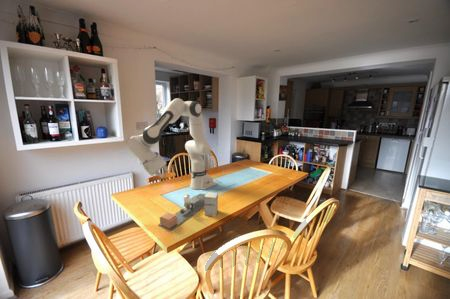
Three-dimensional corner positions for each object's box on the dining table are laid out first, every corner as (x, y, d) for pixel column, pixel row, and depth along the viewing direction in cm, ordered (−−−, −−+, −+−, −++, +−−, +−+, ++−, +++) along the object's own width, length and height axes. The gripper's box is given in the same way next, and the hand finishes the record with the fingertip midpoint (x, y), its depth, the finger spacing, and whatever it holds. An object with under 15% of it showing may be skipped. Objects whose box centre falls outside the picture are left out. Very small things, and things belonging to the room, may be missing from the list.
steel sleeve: (200, 200, 141) (200, 193, 140) (206, 202, 139) (206, 195, 137) (187, 208, 129) (186, 201, 128) (193, 210, 127) (193, 203, 126)
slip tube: (200, 199, 140) (200, 186, 138) (204, 200, 138) (204, 187, 136) (179, 213, 122) (179, 198, 120) (183, 214, 120) (183, 199, 118)
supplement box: (204, 215, 123) (203, 196, 120) (207, 209, 130) (206, 191, 127) (215, 216, 122) (215, 197, 119) (218, 210, 129) (218, 192, 126)
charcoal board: (198, 199, 143) (198, 199, 143) (209, 203, 138) (209, 202, 138) (158, 225, 112) (158, 224, 112) (171, 231, 107) (171, 230, 107)
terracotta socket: (167, 219, 116) (167, 211, 115) (177, 223, 112) (177, 215, 111) (160, 224, 112) (159, 216, 111) (170, 228, 108) (170, 220, 107)
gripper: (144, 159, 108) (163, 176, 110) (158, 151, 128) (173, 166, 130) (137, 167, 109) (155, 184, 111) (152, 158, 129) (167, 172, 131)
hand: (165, 174), depth 121 cm, fingers open, 8 cm apart
